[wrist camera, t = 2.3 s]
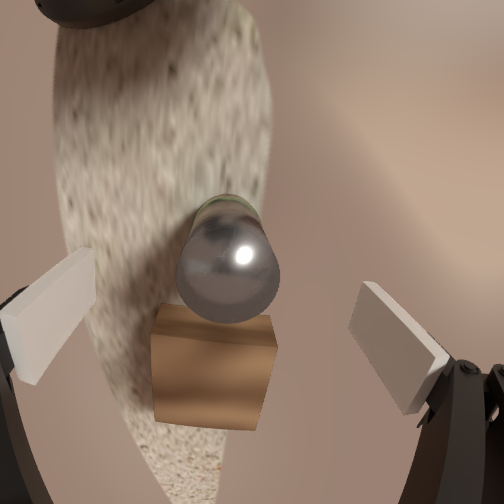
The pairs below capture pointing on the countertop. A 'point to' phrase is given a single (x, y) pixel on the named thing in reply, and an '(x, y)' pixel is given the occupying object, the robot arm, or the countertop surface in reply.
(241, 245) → the column
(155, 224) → the countertop surface
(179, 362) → the step block
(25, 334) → the robot arm
